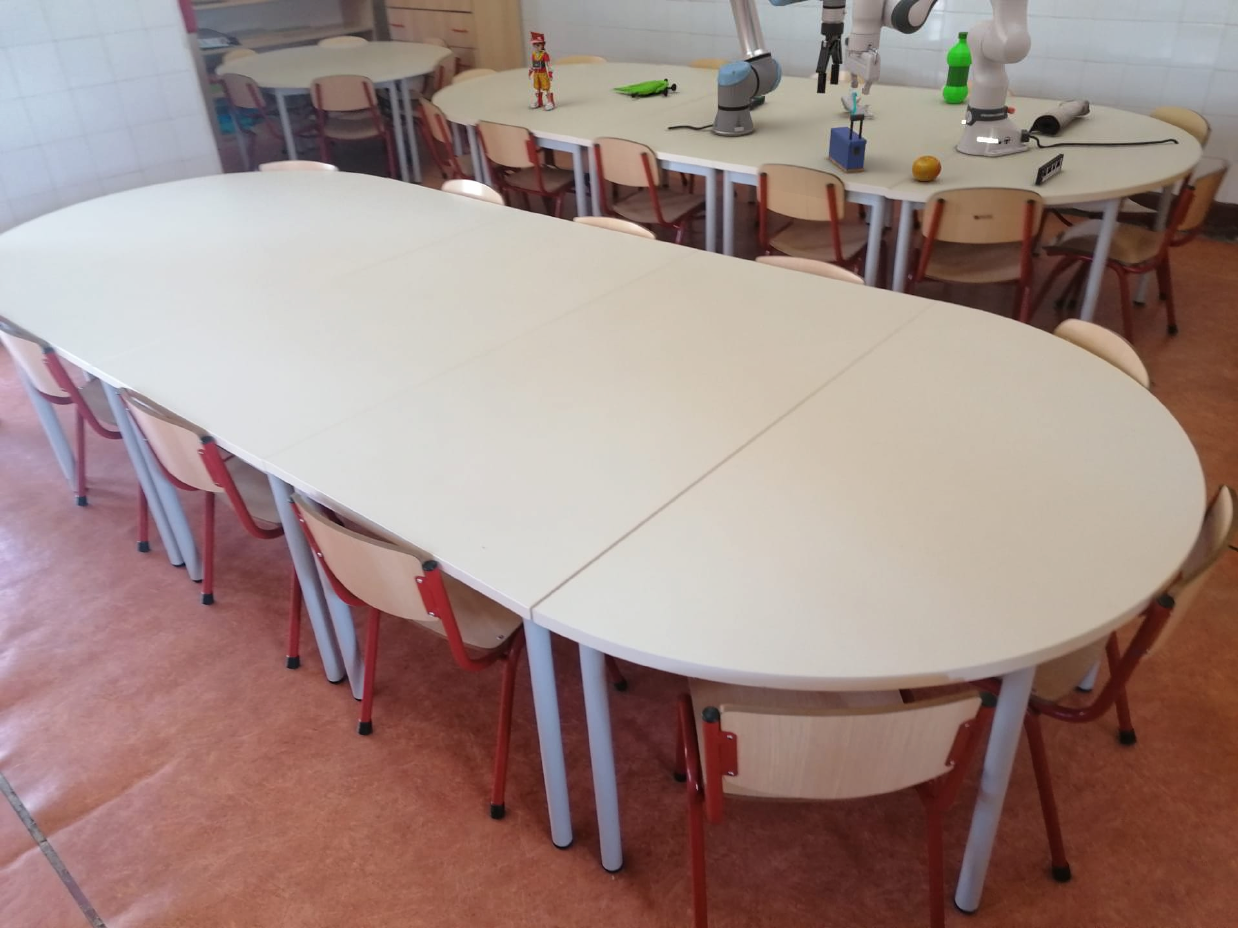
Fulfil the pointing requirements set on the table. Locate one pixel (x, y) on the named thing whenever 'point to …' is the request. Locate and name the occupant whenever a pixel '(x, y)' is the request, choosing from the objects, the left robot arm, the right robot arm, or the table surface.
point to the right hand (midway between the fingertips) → (859, 91)
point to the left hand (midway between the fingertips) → (827, 89)
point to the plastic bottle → (958, 71)
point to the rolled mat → (1060, 117)
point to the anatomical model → (854, 104)
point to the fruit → (926, 168)
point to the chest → (846, 154)
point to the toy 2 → (648, 88)
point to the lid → (851, 131)
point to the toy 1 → (541, 71)
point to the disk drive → (756, 101)
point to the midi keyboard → (1049, 169)
